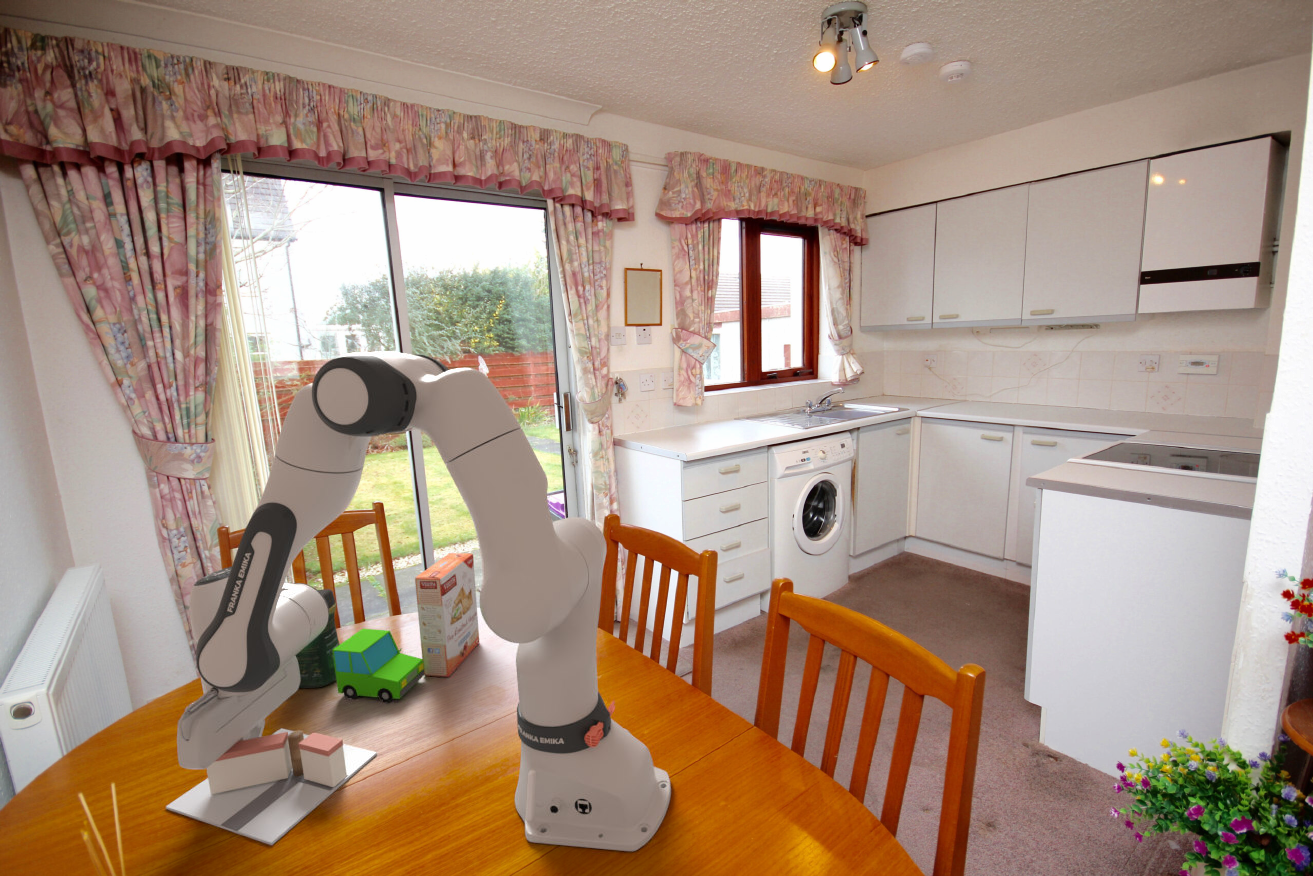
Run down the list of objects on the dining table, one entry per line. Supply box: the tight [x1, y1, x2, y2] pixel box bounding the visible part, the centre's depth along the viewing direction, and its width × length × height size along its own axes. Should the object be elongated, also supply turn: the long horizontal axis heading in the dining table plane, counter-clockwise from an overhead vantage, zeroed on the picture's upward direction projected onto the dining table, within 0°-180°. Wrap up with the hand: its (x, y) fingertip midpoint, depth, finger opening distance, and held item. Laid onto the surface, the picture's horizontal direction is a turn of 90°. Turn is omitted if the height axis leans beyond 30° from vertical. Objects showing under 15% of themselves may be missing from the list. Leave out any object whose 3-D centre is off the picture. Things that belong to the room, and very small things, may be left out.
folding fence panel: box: [206, 732, 292, 794], centre depth 88 cm, size 10×3×6 cm, turn 107°
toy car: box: [333, 628, 425, 704], centre depth 111 cm, size 10×13×10 cm
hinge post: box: [288, 730, 304, 776], centre depth 90 cm, size 2×2×7 cm
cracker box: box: [414, 552, 480, 678], centre depth 121 cm, size 14×6×21 cm, turn 172°
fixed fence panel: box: [298, 732, 347, 787], centre depth 88 cm, size 6×3×6 cm, turn 71°
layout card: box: [165, 727, 378, 846], centre depth 89 cm, size 21×18×1 cm
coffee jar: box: [295, 588, 341, 689], centre depth 115 cm, size 10×8×19 cm
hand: (251, 752), depth 91 cm, fingers closed
